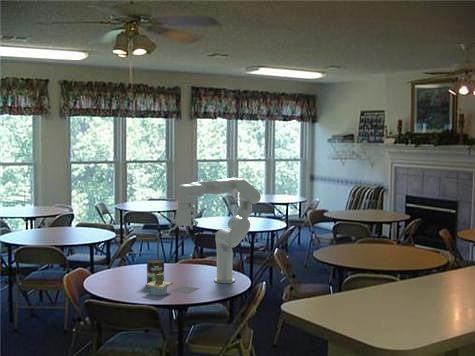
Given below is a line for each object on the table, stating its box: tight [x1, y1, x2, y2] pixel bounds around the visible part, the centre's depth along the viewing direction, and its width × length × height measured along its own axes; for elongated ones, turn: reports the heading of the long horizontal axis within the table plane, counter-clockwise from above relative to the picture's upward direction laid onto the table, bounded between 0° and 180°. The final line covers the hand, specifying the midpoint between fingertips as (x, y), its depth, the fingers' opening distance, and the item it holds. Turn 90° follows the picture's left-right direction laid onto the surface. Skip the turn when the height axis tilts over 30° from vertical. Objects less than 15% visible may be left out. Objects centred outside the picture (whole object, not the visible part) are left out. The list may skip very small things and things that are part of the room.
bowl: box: [150, 287, 168, 296], centre depth 315 cm, size 9×9×4 cm
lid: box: [144, 274, 174, 289], centre depth 315 cm, size 11×11×6 cm
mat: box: [171, 285, 200, 295], centre depth 322 cm, size 12×12×1 cm
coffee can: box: [146, 258, 165, 284], centre depth 334 cm, size 10×10×14 cm
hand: (184, 235), depth 327 cm, fingers open, 9 cm apart
